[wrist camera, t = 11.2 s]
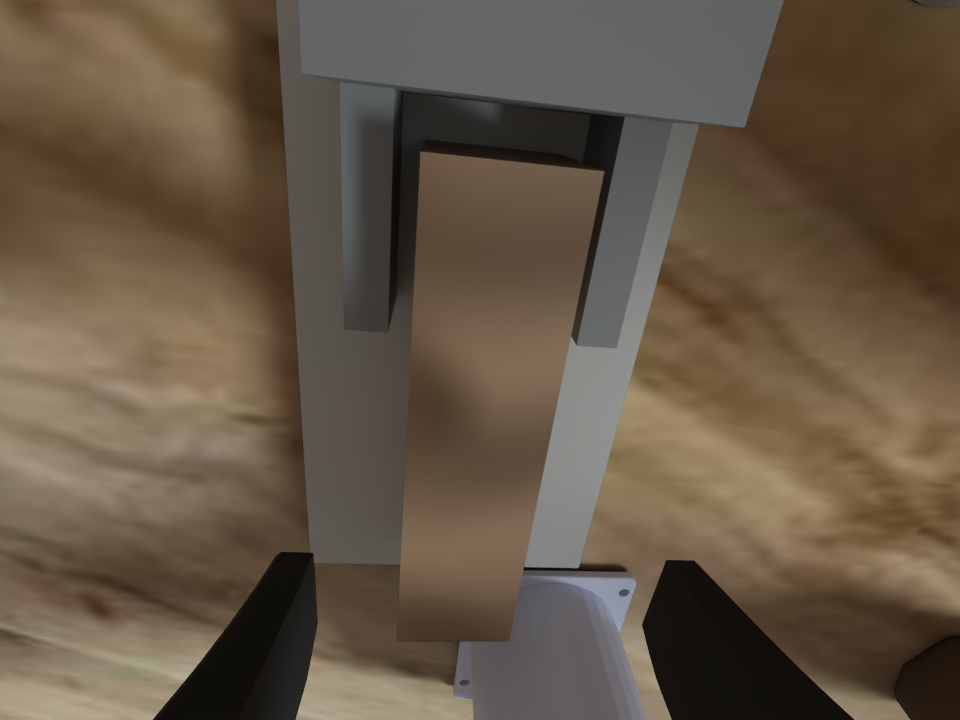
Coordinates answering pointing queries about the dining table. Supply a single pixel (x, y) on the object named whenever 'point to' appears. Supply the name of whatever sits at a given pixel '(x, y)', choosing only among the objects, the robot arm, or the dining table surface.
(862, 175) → the dining table surface
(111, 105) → the dining table surface
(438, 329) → the rail
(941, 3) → the planter
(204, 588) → the dining table surface
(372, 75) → the post bracket
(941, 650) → the beer bottle
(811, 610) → the dining table surface
